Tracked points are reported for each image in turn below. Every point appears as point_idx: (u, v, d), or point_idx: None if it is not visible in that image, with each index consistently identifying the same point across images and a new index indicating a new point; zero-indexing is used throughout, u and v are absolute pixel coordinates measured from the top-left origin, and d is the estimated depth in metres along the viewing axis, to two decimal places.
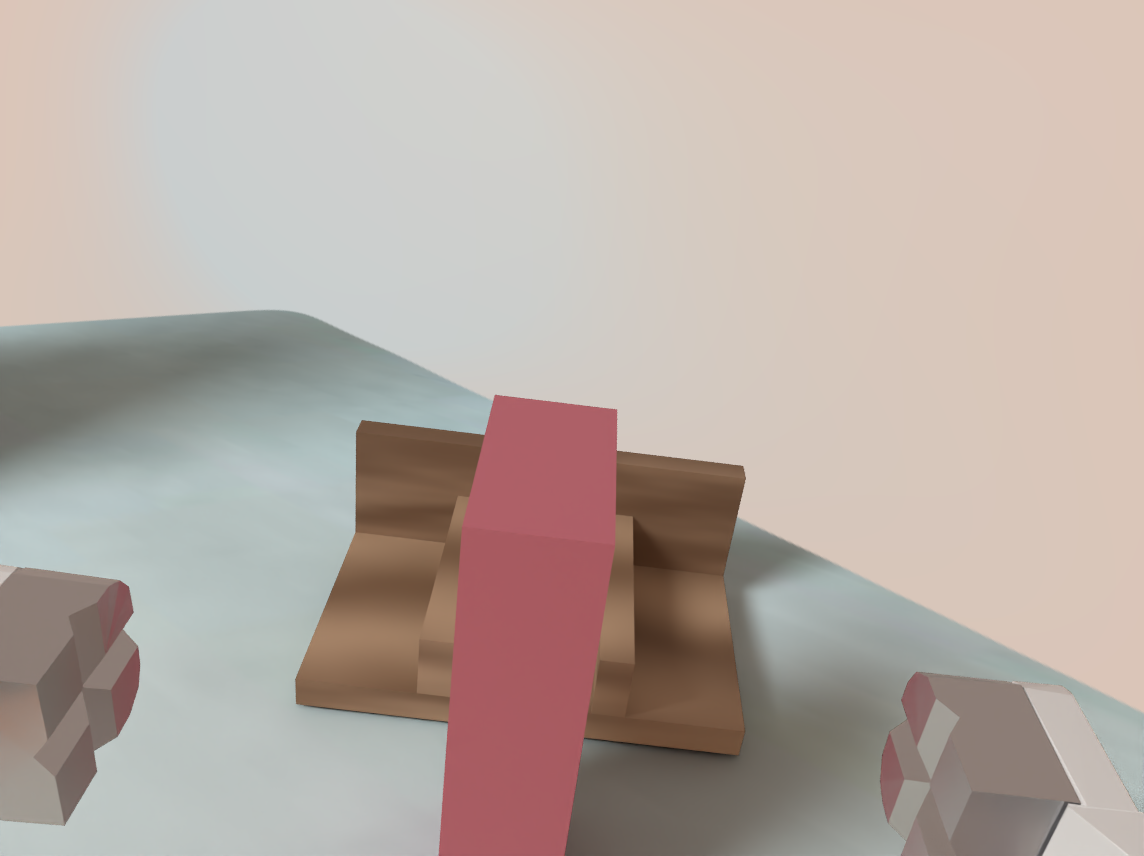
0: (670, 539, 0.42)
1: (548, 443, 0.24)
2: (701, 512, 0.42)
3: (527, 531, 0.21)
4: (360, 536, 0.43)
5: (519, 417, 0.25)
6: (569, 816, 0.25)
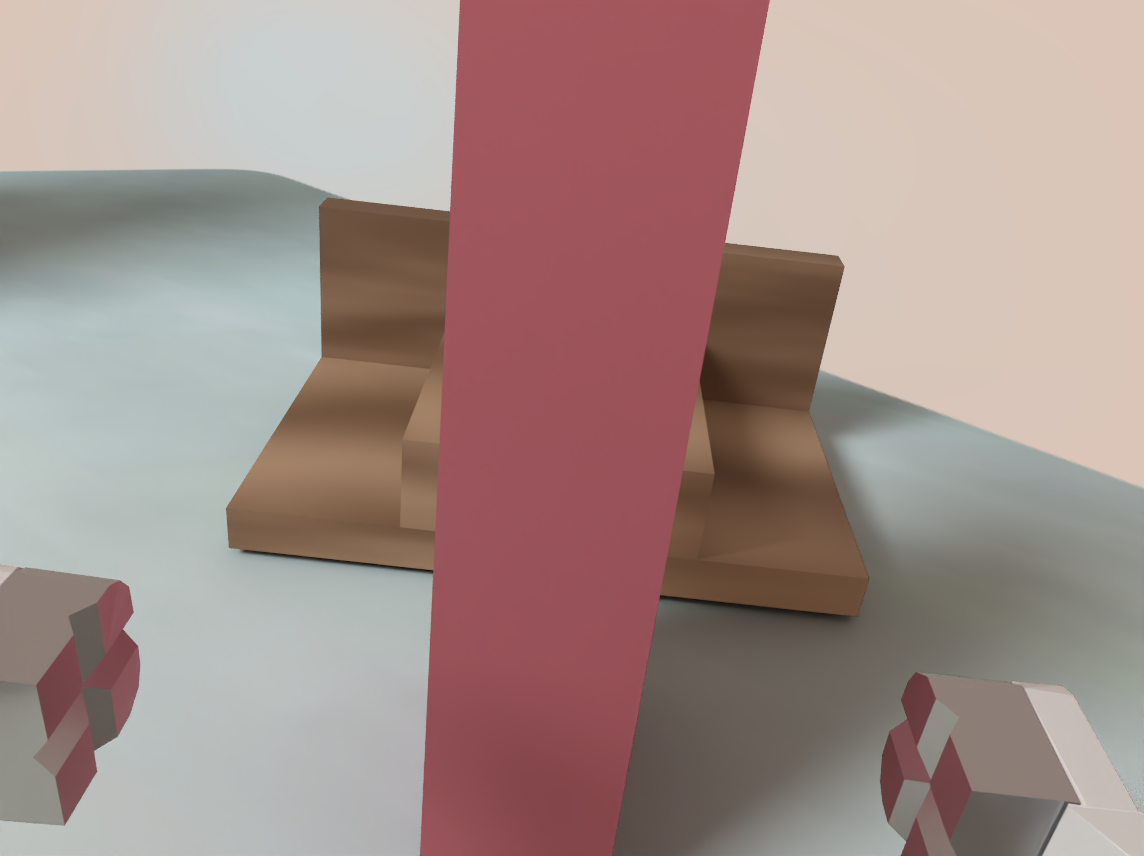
0: (740, 359, 0.32)
1: None
2: (782, 318, 0.31)
3: None
4: (328, 361, 0.32)
5: None
6: (654, 610, 0.14)
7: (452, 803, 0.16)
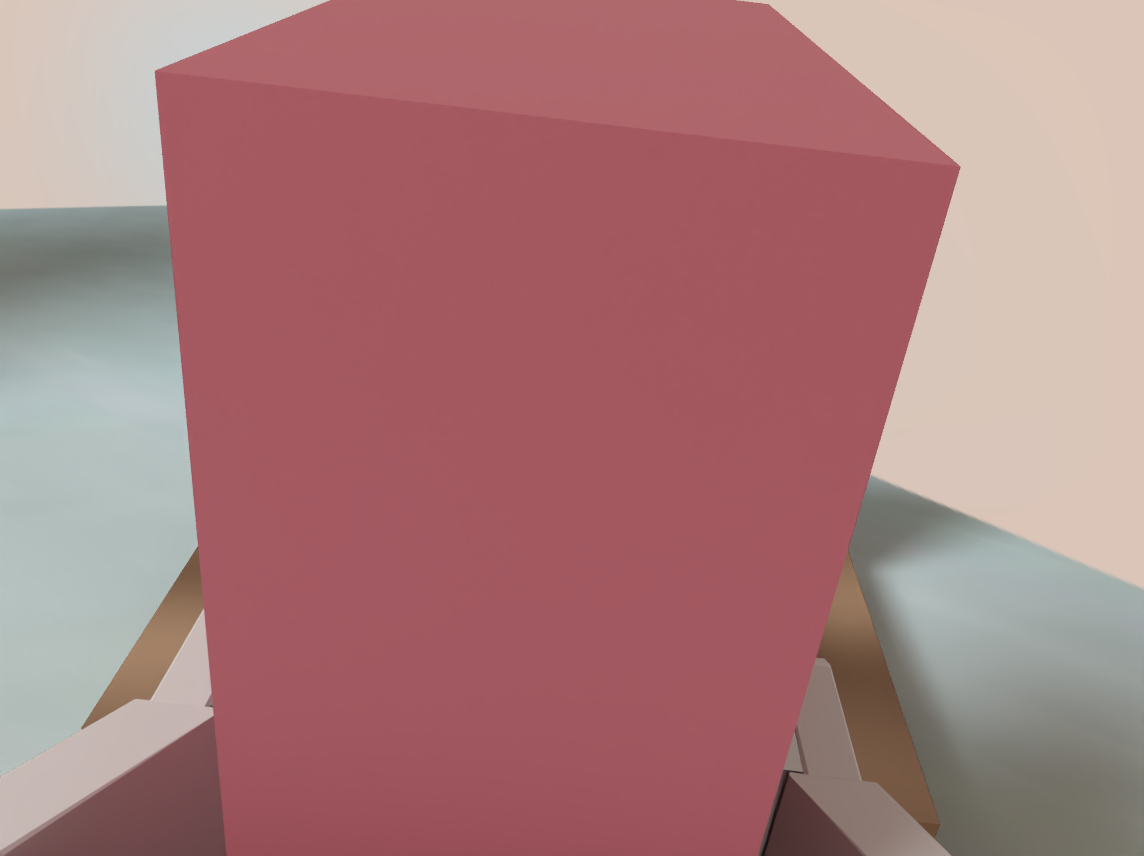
0: None
1: (581, 9, 0.07)
2: None
3: (499, 109, 0.04)
4: None
5: None
6: None
7: None
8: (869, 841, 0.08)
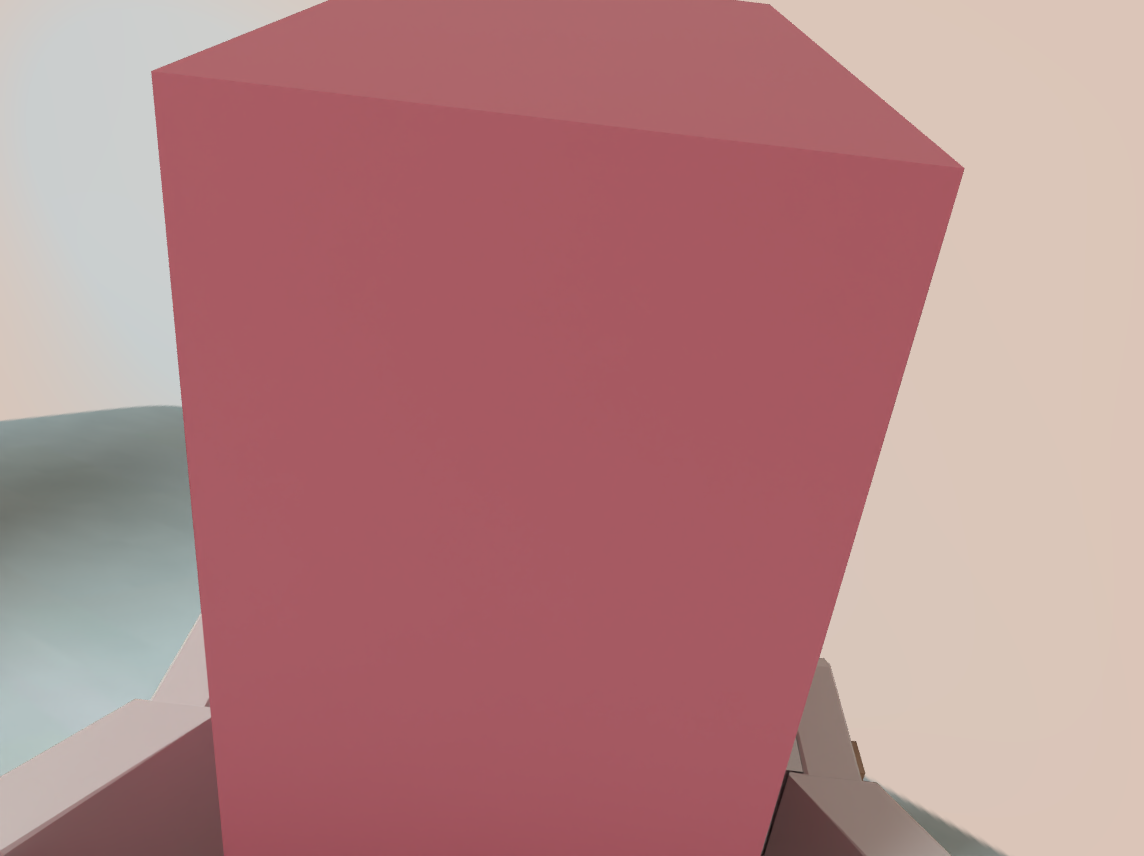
0: None
1: (581, 10, 0.07)
2: None
3: (501, 108, 0.04)
4: None
5: None
6: None
7: None
8: (868, 841, 0.08)
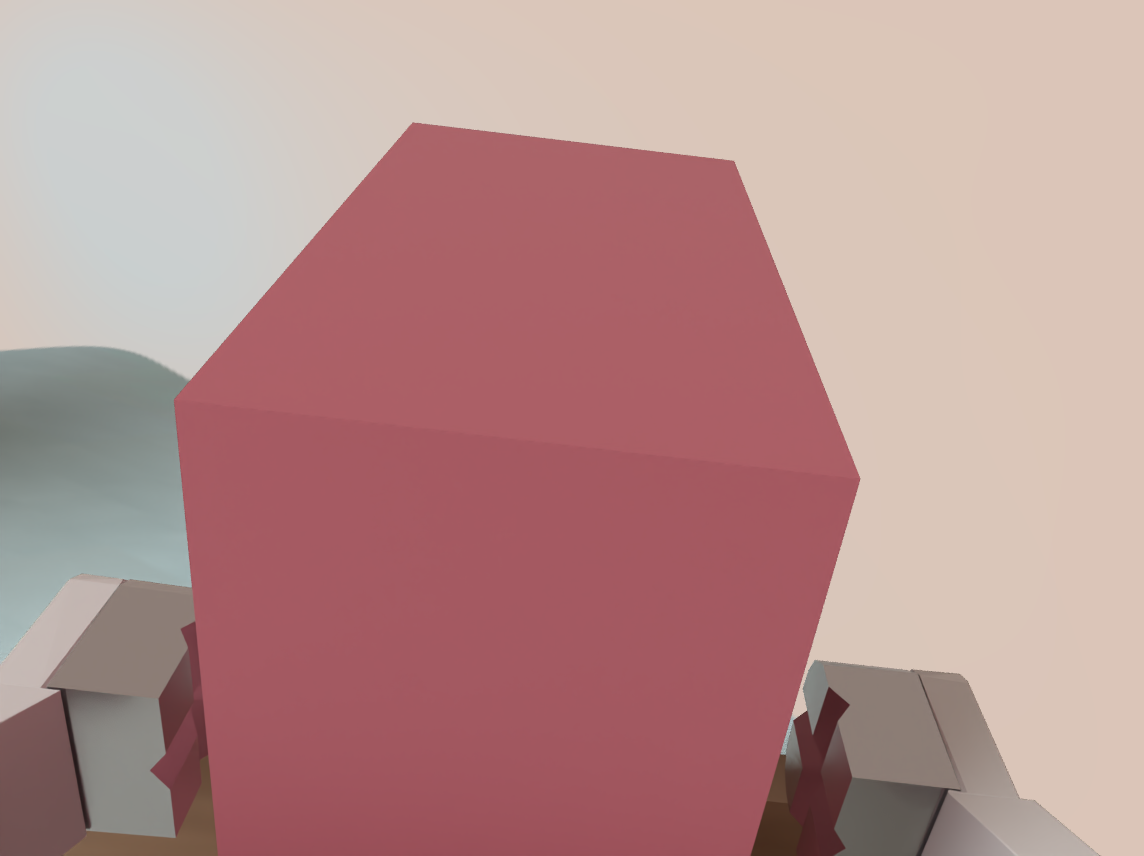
0: None
1: (555, 203, 0.08)
2: None
3: (470, 425, 0.05)
4: None
5: (473, 157, 0.09)
6: None
7: None
8: None
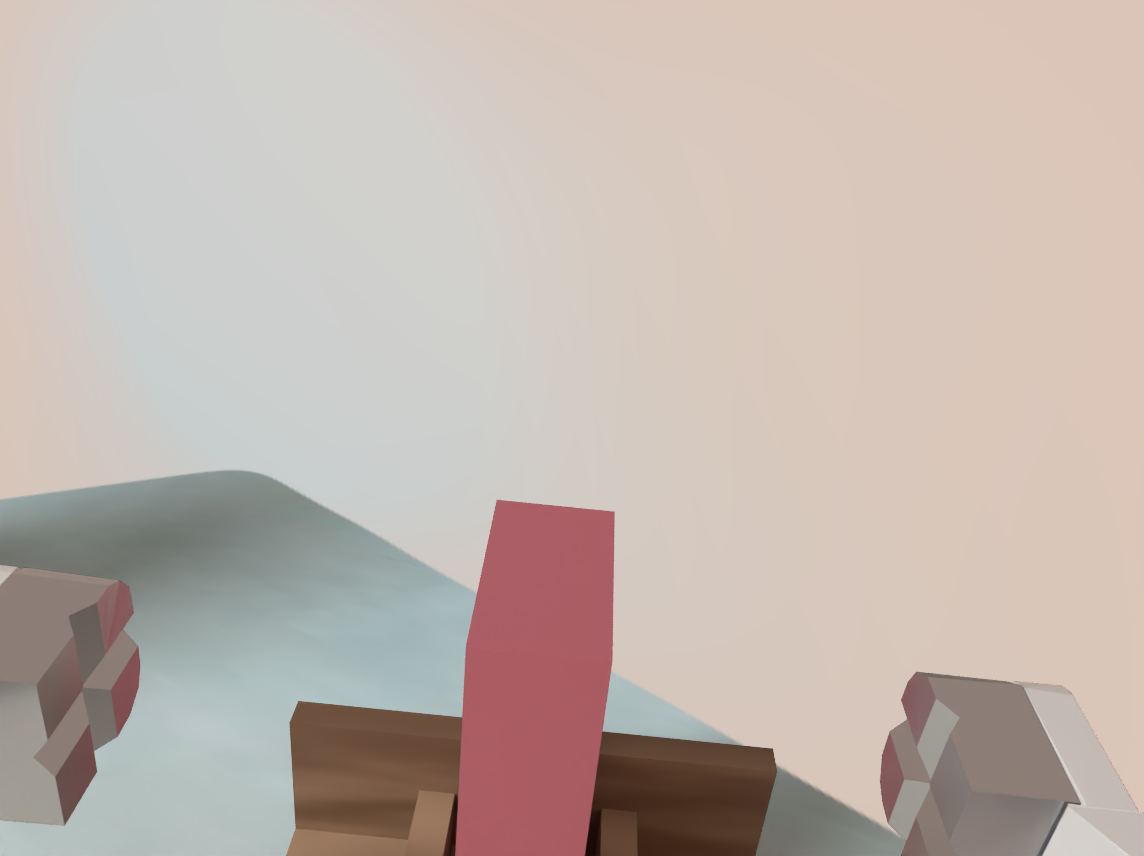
0: (684, 836, 0.34)
1: (548, 552, 0.25)
2: (722, 807, 0.34)
3: (528, 649, 0.22)
4: (301, 835, 0.35)
5: (520, 523, 0.26)
6: None
7: None
8: None
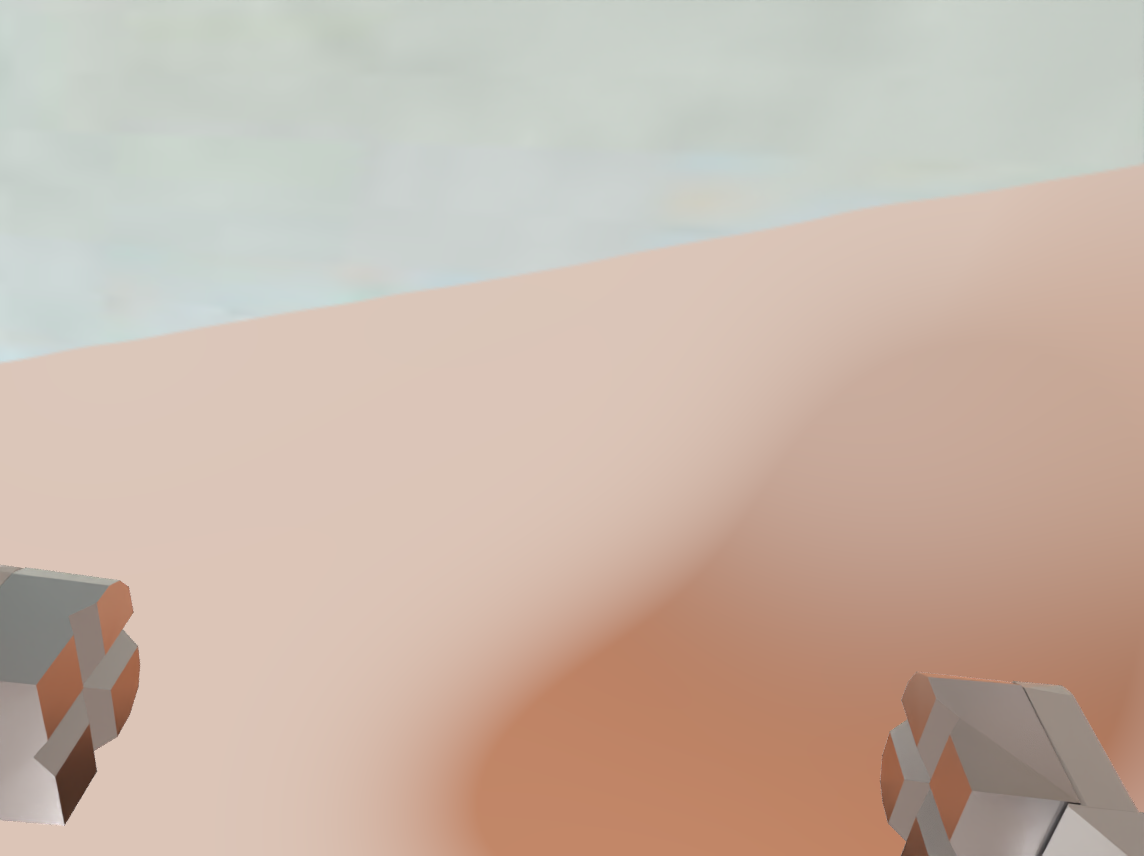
0: None
1: None
2: None
3: None
4: None
5: None
6: None
7: None
8: None
